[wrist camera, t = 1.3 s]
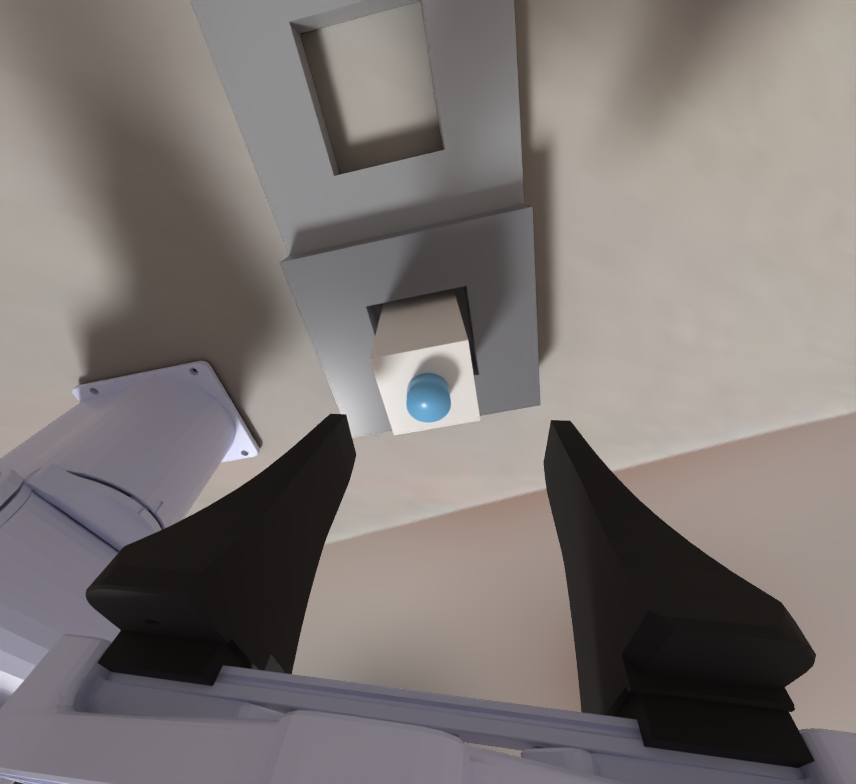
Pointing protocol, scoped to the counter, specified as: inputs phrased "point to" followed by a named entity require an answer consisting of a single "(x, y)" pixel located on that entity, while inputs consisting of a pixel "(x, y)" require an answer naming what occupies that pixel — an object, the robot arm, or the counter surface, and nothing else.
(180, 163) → the counter surface
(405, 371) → the plug block
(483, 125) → the jack panel
